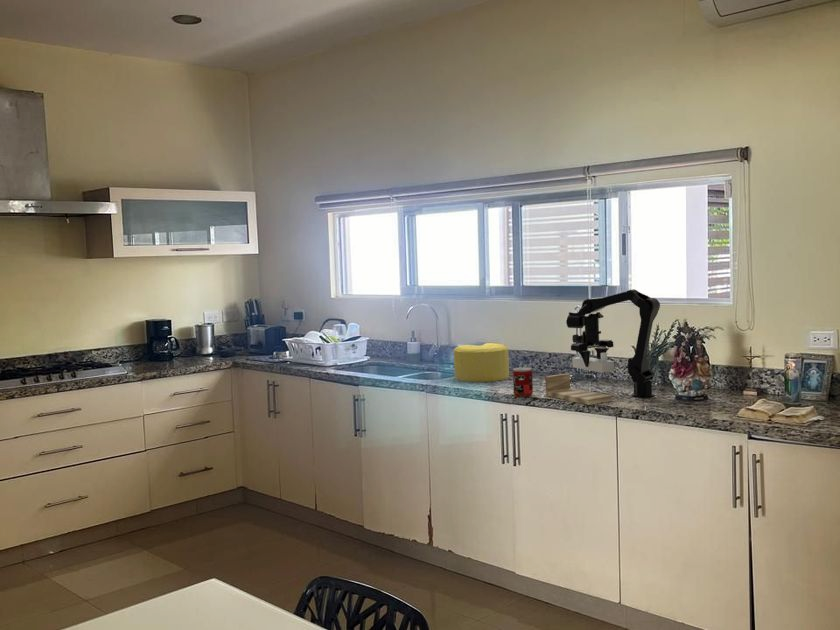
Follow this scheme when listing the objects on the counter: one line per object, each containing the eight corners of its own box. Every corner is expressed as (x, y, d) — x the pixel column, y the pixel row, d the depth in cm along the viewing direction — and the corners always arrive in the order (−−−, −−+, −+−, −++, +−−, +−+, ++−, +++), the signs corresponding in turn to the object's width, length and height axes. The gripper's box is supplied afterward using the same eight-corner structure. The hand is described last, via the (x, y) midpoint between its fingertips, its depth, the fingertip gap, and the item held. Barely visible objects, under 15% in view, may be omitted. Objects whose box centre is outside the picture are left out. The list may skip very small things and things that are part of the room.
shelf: (612, 400, 309) (611, 380, 309) (589, 405, 303) (588, 384, 302) (568, 392, 331) (567, 373, 330) (545, 395, 325) (545, 376, 324)
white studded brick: (614, 371, 320) (613, 352, 320) (602, 372, 318) (601, 354, 317) (584, 365, 339) (583, 348, 338) (572, 367, 336) (572, 349, 335)
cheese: (472, 371, 397) (471, 341, 396) (519, 374, 382) (518, 343, 380) (444, 379, 376) (443, 348, 374) (492, 383, 361) (490, 350, 359)
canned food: (510, 394, 332) (509, 368, 331) (526, 392, 335) (526, 366, 334) (519, 397, 325) (518, 370, 324) (536, 395, 328) (535, 368, 327)
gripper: (595, 325, 338) (596, 361, 340) (561, 329, 329) (562, 366, 330) (613, 327, 329) (614, 364, 330) (579, 331, 319) (580, 369, 321)
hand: (592, 366), depth 328 cm, fingers closed on white studded brick, 6 cm apart
